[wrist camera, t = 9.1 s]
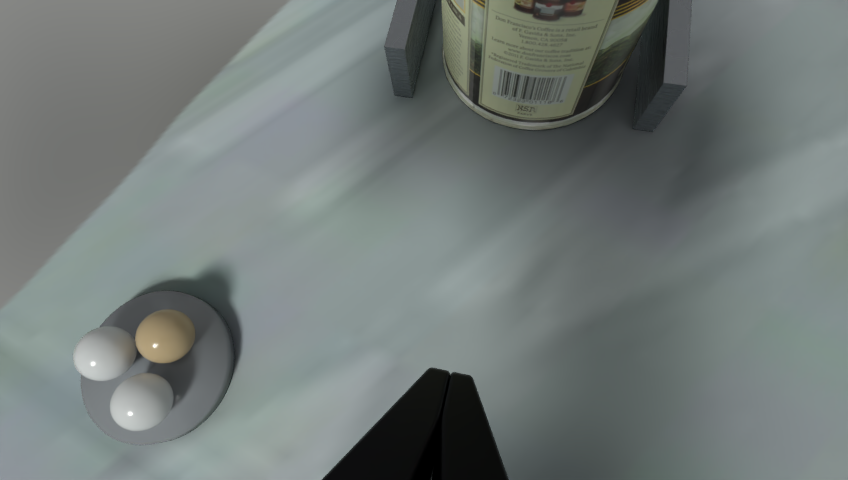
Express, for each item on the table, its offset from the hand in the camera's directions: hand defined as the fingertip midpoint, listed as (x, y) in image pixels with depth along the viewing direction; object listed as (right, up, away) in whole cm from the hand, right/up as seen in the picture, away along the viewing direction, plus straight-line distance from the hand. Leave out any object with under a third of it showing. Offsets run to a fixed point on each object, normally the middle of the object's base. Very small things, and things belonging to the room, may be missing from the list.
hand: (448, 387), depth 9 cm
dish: (-13, -3, +14) cm, 19 cm away
